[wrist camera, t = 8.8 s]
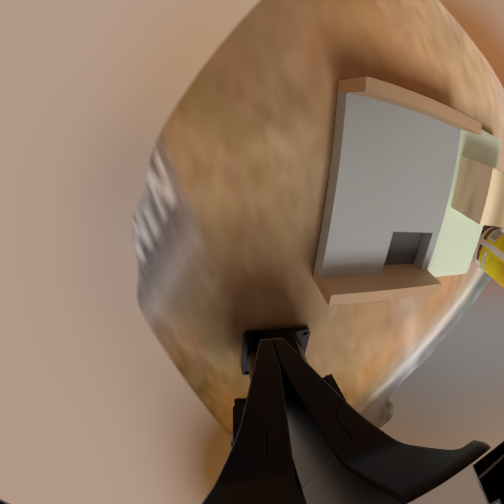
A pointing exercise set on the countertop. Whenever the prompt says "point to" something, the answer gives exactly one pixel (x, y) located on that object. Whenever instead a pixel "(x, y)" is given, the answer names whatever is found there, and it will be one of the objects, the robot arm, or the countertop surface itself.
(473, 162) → the block
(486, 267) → the supplement bottle
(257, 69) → the countertop surface
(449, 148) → the board
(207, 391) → the countertop surface
